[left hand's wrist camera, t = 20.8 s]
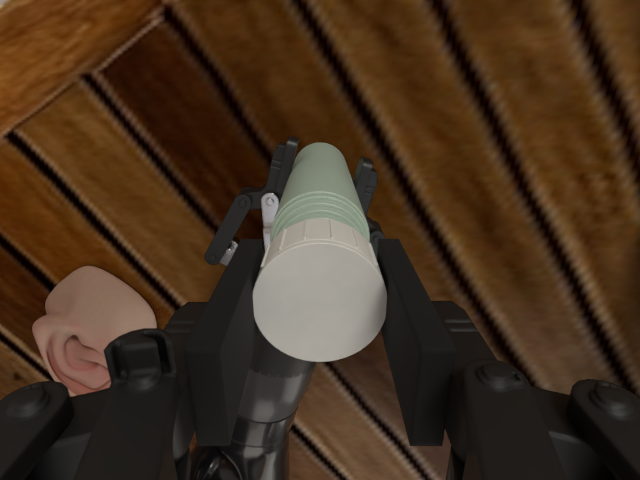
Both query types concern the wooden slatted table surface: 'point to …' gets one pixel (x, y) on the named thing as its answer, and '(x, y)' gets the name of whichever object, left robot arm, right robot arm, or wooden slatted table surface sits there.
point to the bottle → (320, 191)
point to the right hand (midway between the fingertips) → (330, 149)
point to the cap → (319, 291)
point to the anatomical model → (87, 326)
